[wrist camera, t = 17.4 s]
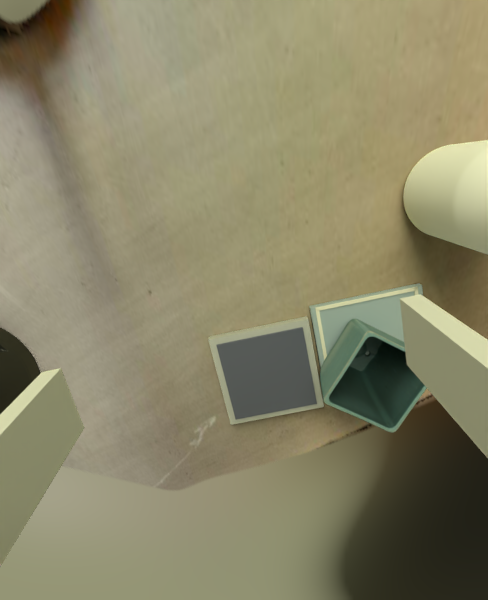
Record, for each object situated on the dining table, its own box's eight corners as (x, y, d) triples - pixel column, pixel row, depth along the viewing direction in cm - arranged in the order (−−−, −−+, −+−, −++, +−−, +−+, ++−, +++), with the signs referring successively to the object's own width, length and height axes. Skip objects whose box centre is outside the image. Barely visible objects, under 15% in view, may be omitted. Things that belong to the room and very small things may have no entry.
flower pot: (367, 391, 51) (394, 435, 42) (305, 363, 49) (321, 402, 41) (406, 332, 49) (443, 366, 40) (343, 301, 47) (367, 329, 39)
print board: (324, 393, 52) (326, 397, 51) (309, 306, 48) (310, 308, 47) (427, 373, 51) (430, 377, 50) (419, 283, 48) (422, 285, 47)
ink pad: (231, 420, 53) (230, 426, 52) (209, 336, 49) (208, 340, 48) (322, 402, 52) (324, 408, 51) (306, 316, 49) (308, 320, 47)
